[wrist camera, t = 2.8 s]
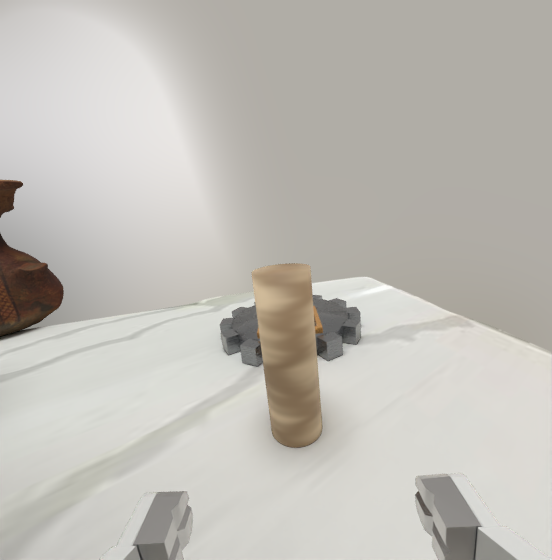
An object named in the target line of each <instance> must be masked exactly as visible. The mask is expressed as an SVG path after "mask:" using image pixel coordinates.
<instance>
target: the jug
mask: <svg viewBox="0 0 552 560" xmlns="http://www.w3.org/2000/svg"><path fill="white" fill-rule="evenodd" d="M22 186H23V183H22V182H20V181H13V180H0V217H1V215H2V214H3V213H5V212H9V211H10V210H13V209H14V206H13V202H14V194H15V191H16V189H17V188H20V187H22ZM62 299H63V286H62V284H61V282H60V281H59V279H58V278H57V277H56V276H55V275H54V274H53V273H52V272H51V271H50V270H49V269H48V265H47V264H46V263H41V262H40V261H38V260H37V259H36V258H34V257H32V256H30V255H29V254H26V253H24V252H21V251H18V250H16V249H13V248H11V247H9V246H8V245H7V244H6V242H5V241H4V240H3V238H2V236H1V234H0V336H2V335H6V334H10V333H13V332H16V331H20V330H22V329H25V328H27V327H30V326H32V325H34V324H36V323H39V322H40V321H42V320H43V319H44V318H45V317H47V316H48V315H49V314H51V313H52V312H53V311H55V310H56V309H57V308H59V306H60V305H61V303H62Z"/></svg>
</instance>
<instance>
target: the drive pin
mask: <svg viewBox="0 0 552 560" xmlns="http://www.w3.org/2000/svg"><path fill="white" fill-rule="evenodd" d="M252 279H253V288H254V296H255V303H256V311H257V319H258V327H259V335H260V342H261V350H262V358H263V366H264V374H265V382H266V389H267V397H268V405H269V413H270V421H271V429H272V434H273V436H274V438H275V439H276V440H277V441H278V442H279V443H281V444H283V445H285V446H288V447H294V448H298V447H304V446H307V445H310V444H312V443H313V442H315V441H316V440H317V439H318V438H319V436H320V435H321V432H322V416H321V403H320V390H319V377H318V363H317V350H316V337H315V323H314V310H313V297H312V284H311V270H310V266H309V265H306V264H295V263H294V264H278V265H272V266H266V267H262V268H258V269H256V270H254V271H253V272H252Z"/></svg>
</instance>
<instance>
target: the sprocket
mask: <svg viewBox="0 0 552 560" xmlns="http://www.w3.org/2000/svg"><path fill="white" fill-rule="evenodd" d="M312 297H313V310H314V323H315V337H316V350H317V355H320V356H321V357H323V358H324V359H326V360H327V361H329V360H331V359H334V358H336V357H339V356H341V355H343V348H342V343H350V344H357V343H358V341H359V339H360V338H361V324H360V311H359V310H358V309H357V308H356V307H350V308H346V301H344V300H340V299H337V298H336V299H333V300H329V301H327V300H323V299H322V296H319V295H312ZM254 303H255V302H254ZM232 316H233V318H226V319H223V320H222V322H221V323H220V328H221V338H222V344H223V349H224V350H225V351H226V353H227V354H228V355H230V354H233V353H236V352H239V351H241V355H242V362H243V363H246V364H249V365H253V366H257V367H258V366H259V365H260V364H261V363H262V362H263V358H262V350H261V342H260V335H259V327H258V319H257V311H256V303H255V306H252V307H250V308H245V307H240V308H238V309H236V310H234V311H232Z"/></svg>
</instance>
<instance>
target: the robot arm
mask: <svg viewBox="0 0 552 560" xmlns="http://www.w3.org/2000/svg"><path fill="white" fill-rule="evenodd" d="M415 485H416V487H417V489H418V492H417V493H416V494H415V502H416V507H417V512H418V515H419V518H420V521H421V523H422V525H423V528H424V530H425V531H426V532H427V533H428V534H430V535H431V536H432V548H433V550H434V552H435V554H436V556H437V558H438V560H552V559H551V558H550V557H549V556H547V555H546V554H544V553H543V552H542V551H540V550H539V549H538V548H536V547H535V546H533V545H532V544H531V543H529V542H528V541H526V540H525V539H524V538H522V537H521V536H520V535H518V534H517V533H515V532H514V531H513V530H511V529H510V528H509V527H507V526H501V525H500V523H499V522H498V521H497V519H496V518H495V516H494V515H493V514H492V512H491V511H490V509H489V508H488V507H487V505H486V504H485V502H484V501H483V500H482V498H481V497H480V495H479V494H478V493H477V491H476V490H475V488H474V487H473V486H472V484H471V483H470V481H469V480H468V479H467V477H466V476H465V475H464V474H462V473H454V474H435V475H423V476H417V477H416V479H415ZM188 500H189V496H188V493H187V491H182V492H153V493H145V494H144V495H143V496H142V497H141V498H140V500H139V502H138V504H137V506H136V508H135V510H134V512H133V514H132V516H131V518H130V520H129V522H128V524H127V526H126V528H125V530H124V532H123V534H122V536H121V538H120V540H119V542H118V543H117V545H116V547H111V548H110V549H109V550H108V551H107V552H106V553H105V554H104V555H103V556H102V557H101V558H100V559H99V560H184V558H183V554H182V550H183V549H184V548H185V546H186V545H187V544H188V543H189V539H190V535H191V531H192V524H193V513H192V509H191V507H189V506H188V505H187V503H188Z"/></svg>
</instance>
